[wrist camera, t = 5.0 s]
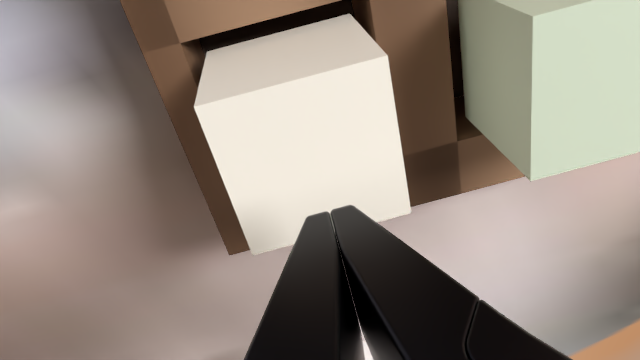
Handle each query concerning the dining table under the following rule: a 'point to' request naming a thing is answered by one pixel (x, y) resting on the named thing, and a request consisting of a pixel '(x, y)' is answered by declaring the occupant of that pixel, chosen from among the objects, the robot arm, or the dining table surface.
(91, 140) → the dining table surface
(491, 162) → the brown shallow tray
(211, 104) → the cream white cube
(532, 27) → the key sage
